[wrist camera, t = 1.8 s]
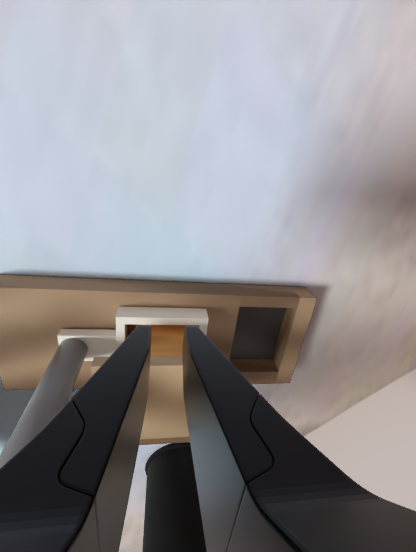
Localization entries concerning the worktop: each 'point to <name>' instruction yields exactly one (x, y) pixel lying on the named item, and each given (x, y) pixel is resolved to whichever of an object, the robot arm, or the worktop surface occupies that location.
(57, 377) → the sled
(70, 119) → the worktop surface
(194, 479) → the aerosol can
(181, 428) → the tan piece
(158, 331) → the block
